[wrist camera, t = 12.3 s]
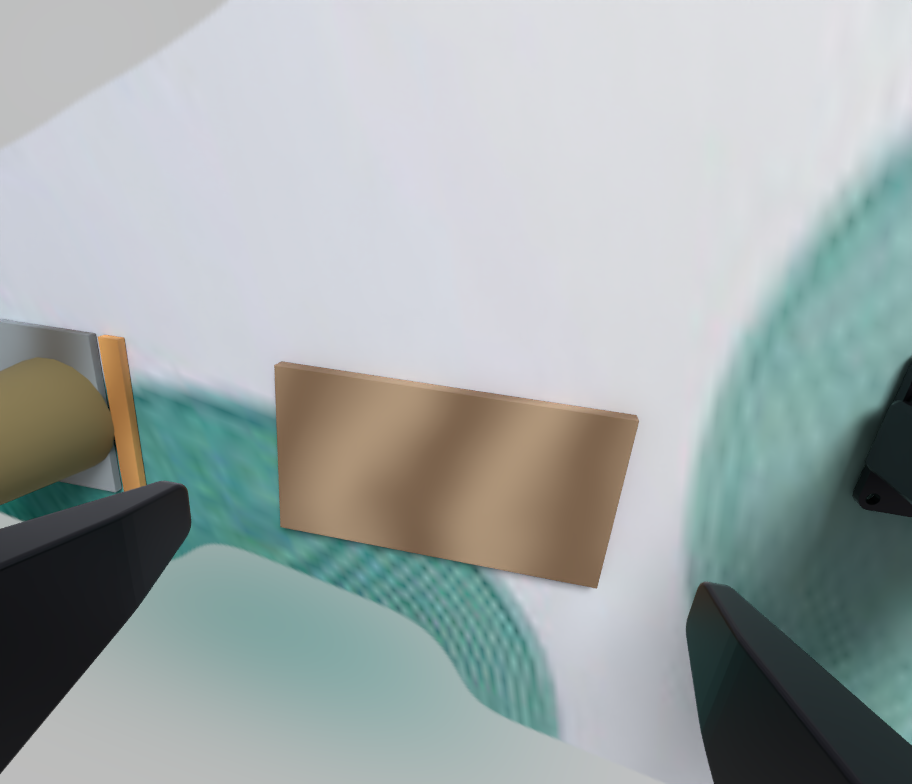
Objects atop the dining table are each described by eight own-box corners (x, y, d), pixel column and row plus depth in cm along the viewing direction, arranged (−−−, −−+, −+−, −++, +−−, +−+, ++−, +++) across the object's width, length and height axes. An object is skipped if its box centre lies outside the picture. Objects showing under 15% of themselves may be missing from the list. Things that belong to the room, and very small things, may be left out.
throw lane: (636, 415, 21) (639, 421, 20) (595, 579, 24) (596, 588, 23) (-12, 317, 24) (-25, 319, 24) (26, 469, 28) (15, 475, 27)
